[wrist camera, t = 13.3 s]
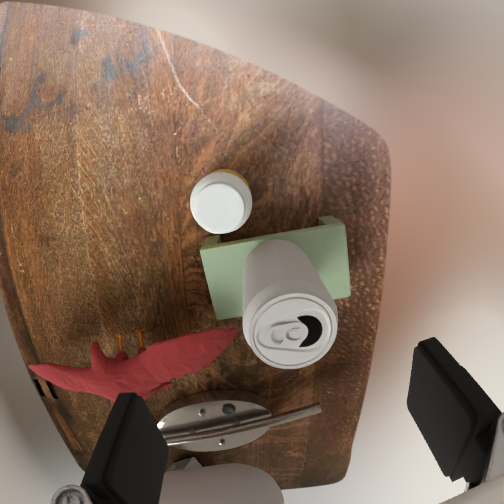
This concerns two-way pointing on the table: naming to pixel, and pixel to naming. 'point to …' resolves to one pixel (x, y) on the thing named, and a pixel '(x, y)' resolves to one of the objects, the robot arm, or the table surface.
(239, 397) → the light fixture
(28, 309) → the table surface
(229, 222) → the supplement bottle
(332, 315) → the beverage can
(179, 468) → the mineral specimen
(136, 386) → the decorative bird sculpture
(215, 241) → the shelf
